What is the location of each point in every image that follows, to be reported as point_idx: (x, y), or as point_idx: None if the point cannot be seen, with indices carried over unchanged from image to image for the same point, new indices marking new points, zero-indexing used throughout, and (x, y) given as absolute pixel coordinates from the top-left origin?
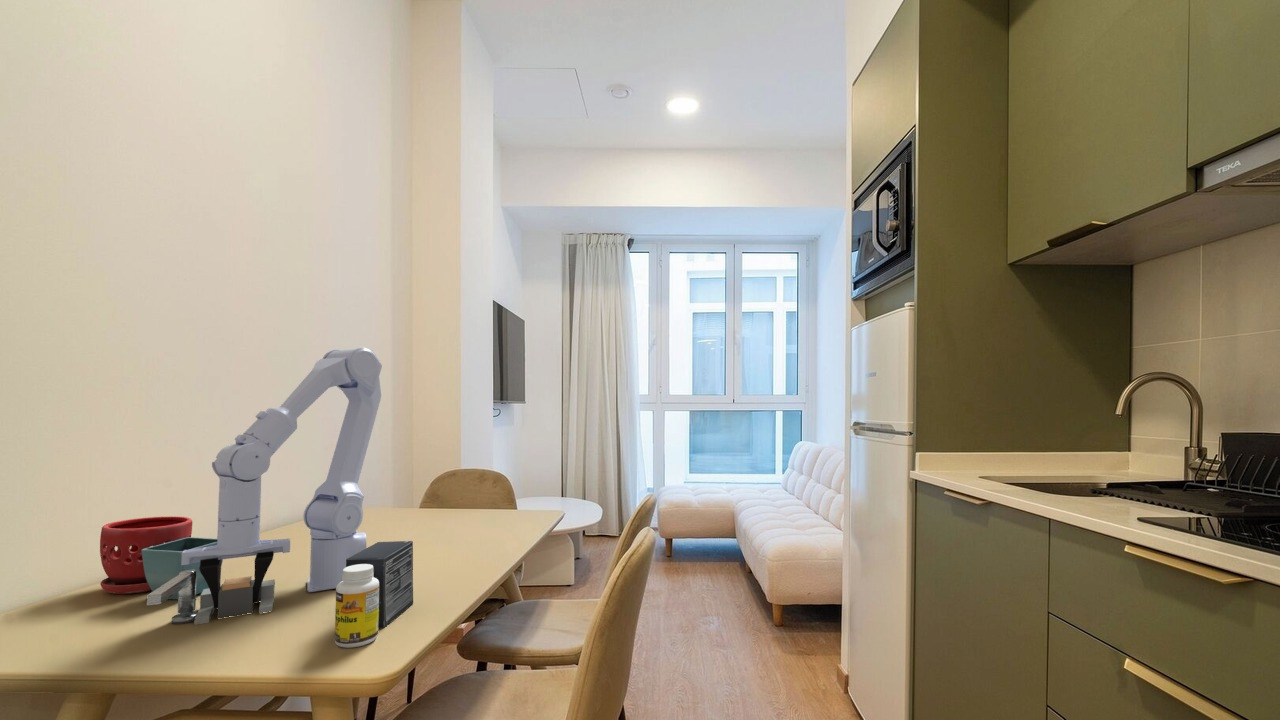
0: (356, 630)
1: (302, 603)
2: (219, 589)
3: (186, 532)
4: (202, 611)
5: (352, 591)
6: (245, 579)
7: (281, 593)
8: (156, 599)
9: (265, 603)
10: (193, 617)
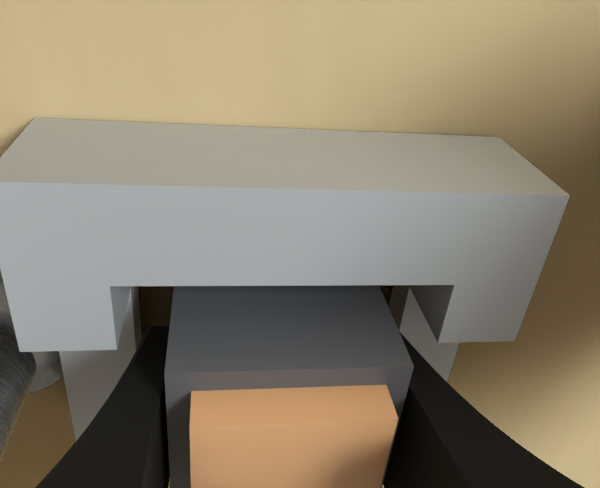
0: None
1: (572, 340)
2: (163, 445)
3: None
4: (86, 360)
5: None
6: (345, 485)
7: (562, 67)
8: None
9: None
10: (52, 379)
